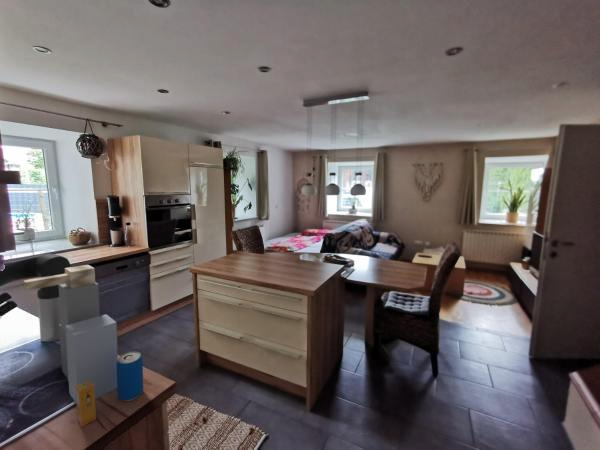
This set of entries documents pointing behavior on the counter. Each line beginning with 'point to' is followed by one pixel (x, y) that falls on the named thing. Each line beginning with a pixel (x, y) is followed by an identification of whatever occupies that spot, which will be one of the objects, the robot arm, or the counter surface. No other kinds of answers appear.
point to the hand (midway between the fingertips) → (11, 298)
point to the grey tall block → (92, 354)
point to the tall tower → (76, 311)
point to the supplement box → (85, 402)
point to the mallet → (65, 278)
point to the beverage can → (129, 376)
